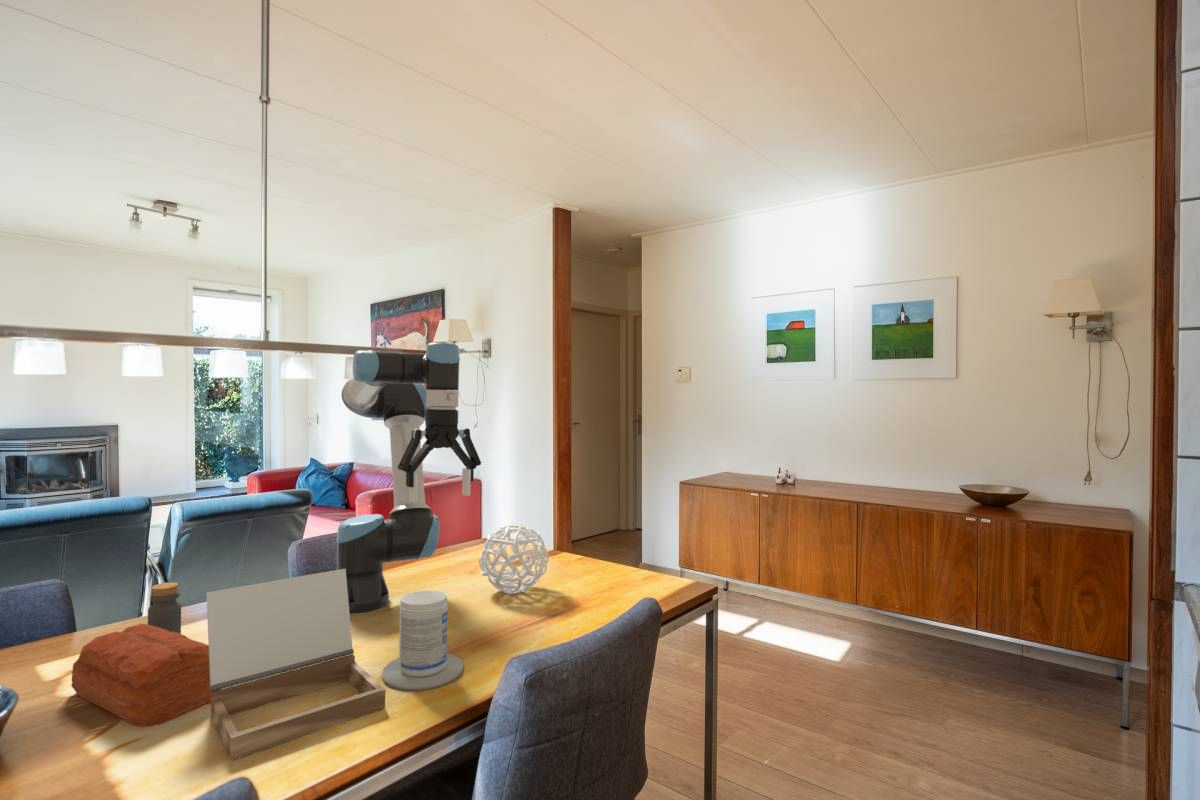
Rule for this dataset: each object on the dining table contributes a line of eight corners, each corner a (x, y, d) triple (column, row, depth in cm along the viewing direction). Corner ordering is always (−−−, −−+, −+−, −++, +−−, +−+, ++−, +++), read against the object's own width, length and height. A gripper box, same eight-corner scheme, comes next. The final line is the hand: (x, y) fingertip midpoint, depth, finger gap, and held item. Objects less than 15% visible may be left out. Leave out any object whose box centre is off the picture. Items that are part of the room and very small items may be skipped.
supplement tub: (453, 671, 123) (454, 599, 123) (406, 683, 118) (407, 608, 118) (437, 654, 131) (439, 586, 131) (393, 664, 126) (394, 594, 126)
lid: (211, 691, 105) (209, 690, 107) (353, 653, 122) (349, 653, 123) (207, 592, 109) (205, 592, 111) (346, 568, 125) (342, 569, 127)
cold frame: (210, 717, 106) (210, 692, 106) (352, 676, 122) (352, 654, 122) (230, 760, 94) (230, 731, 94) (385, 708, 110) (385, 683, 110)
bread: (137, 735, 100) (138, 671, 100) (63, 695, 113) (64, 639, 113) (232, 695, 114) (233, 639, 114) (156, 663, 127) (157, 613, 127)
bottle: (144, 662, 127) (145, 591, 126) (150, 651, 132) (151, 583, 132) (178, 657, 129) (179, 587, 129) (182, 647, 134) (183, 580, 134)
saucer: (369, 669, 125) (369, 665, 125) (440, 649, 136) (440, 645, 136) (402, 699, 113) (402, 695, 113) (477, 674, 124) (477, 670, 124)
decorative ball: (560, 595, 174) (561, 529, 174) (496, 608, 163) (497, 537, 162) (528, 577, 190) (529, 516, 190) (468, 588, 179) (469, 523, 179)
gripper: (397, 408, 132) (396, 506, 132) (495, 408, 148) (494, 495, 148) (383, 408, 137) (382, 501, 137) (480, 408, 154) (478, 491, 154)
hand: (440, 498), depth 143 cm, fingers open, 13 cm apart
